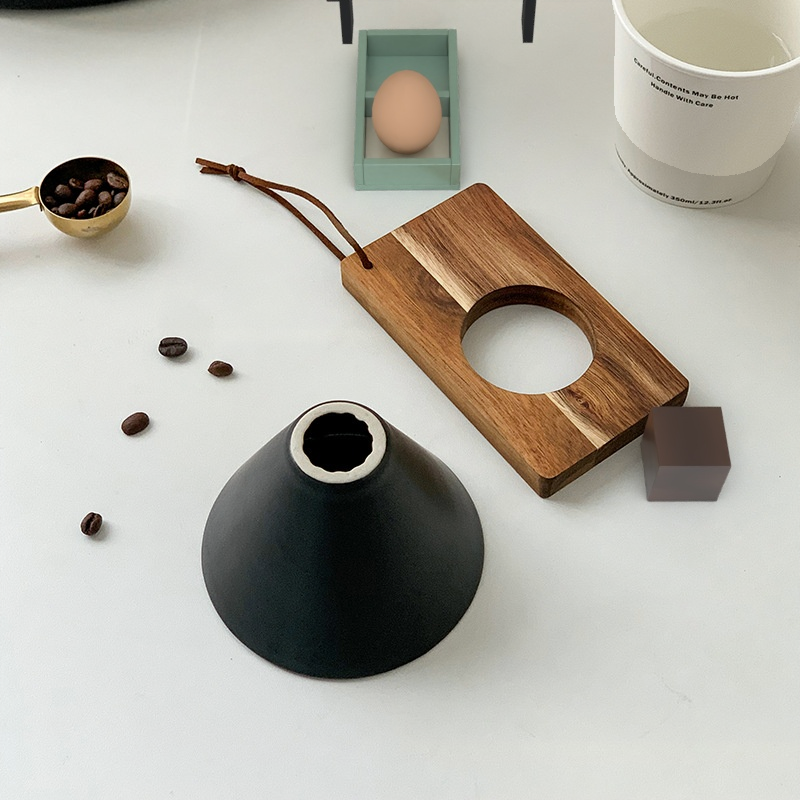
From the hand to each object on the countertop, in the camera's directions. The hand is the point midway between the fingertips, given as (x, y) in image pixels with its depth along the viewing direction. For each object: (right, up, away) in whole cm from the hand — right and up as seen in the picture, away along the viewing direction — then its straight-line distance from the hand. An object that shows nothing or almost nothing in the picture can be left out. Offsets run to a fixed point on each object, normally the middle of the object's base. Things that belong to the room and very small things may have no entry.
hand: (437, 32), depth 91 cm
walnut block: (+18, -33, -3) cm, 38 cm away
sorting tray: (-2, -2, +18) cm, 18 cm away
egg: (-2, -6, +15) cm, 16 cm away
